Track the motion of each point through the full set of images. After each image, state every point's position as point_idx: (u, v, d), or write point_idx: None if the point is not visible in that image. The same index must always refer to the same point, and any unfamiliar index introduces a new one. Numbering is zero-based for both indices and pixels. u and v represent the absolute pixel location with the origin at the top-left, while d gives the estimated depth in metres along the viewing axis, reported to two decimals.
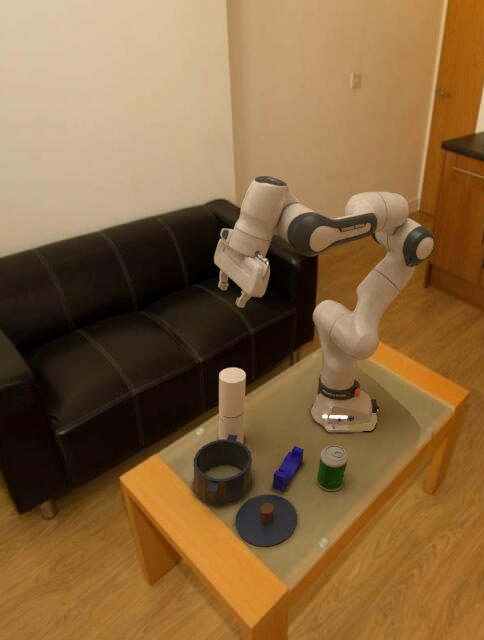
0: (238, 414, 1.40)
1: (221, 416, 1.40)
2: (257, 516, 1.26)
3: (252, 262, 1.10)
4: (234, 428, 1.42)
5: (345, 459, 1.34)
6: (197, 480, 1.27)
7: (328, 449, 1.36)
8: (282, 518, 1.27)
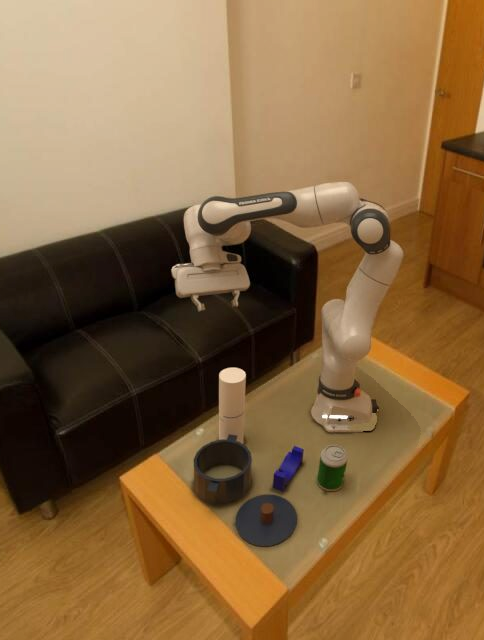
0: (238, 414, 1.40)
1: (221, 416, 1.40)
2: (257, 516, 1.26)
3: None
4: (234, 428, 1.42)
5: (345, 459, 1.34)
6: (197, 480, 1.27)
7: (328, 449, 1.36)
8: (282, 518, 1.27)
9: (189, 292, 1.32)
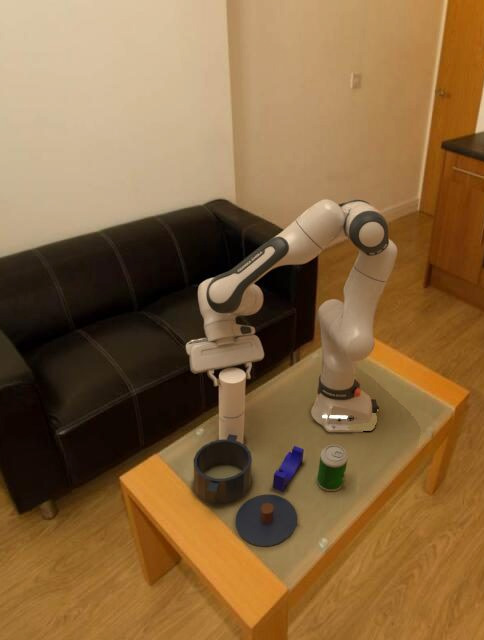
0: (238, 414, 1.40)
1: (221, 416, 1.40)
2: (257, 516, 1.26)
3: None
4: (234, 428, 1.42)
5: (345, 459, 1.34)
6: (197, 480, 1.27)
7: (328, 449, 1.36)
8: (282, 518, 1.27)
9: (203, 369, 1.33)
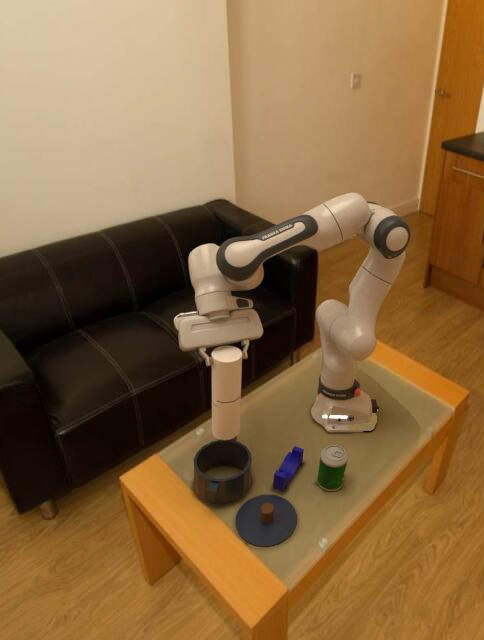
0: (233, 398, 1.24)
1: (214, 401, 1.24)
2: (257, 516, 1.26)
3: None
4: (229, 415, 1.26)
5: (345, 459, 1.34)
6: (197, 480, 1.27)
7: (328, 449, 1.36)
8: (282, 518, 1.27)
9: (193, 345, 1.16)
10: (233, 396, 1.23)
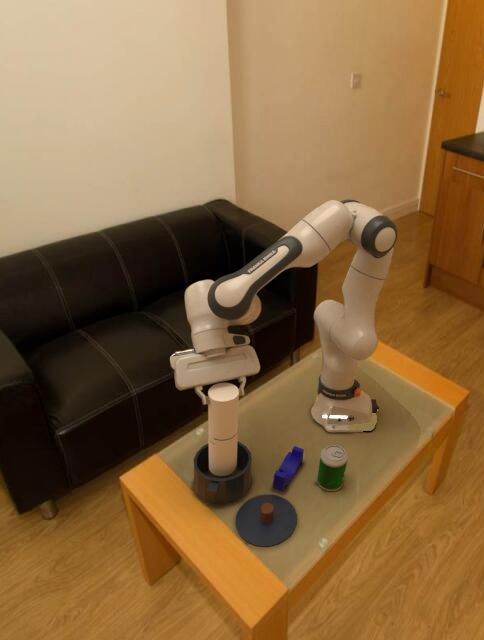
0: (230, 436, 1.23)
1: (211, 438, 1.23)
2: (257, 516, 1.26)
3: None
4: (226, 452, 1.25)
5: (345, 459, 1.34)
6: (197, 480, 1.27)
7: (328, 449, 1.36)
8: (282, 518, 1.27)
9: (190, 385, 1.15)
10: (230, 434, 1.22)
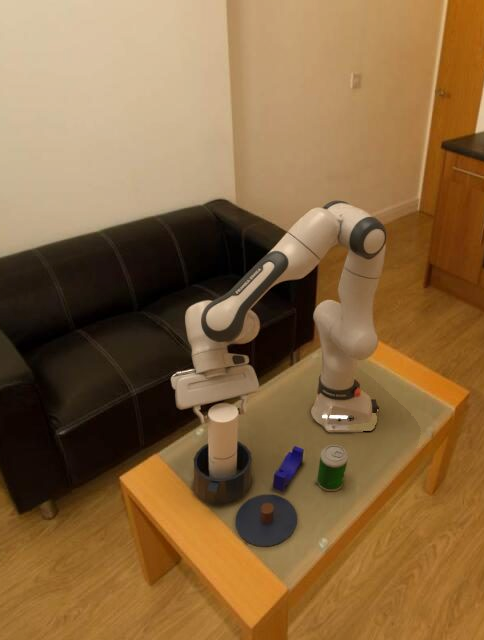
0: (230, 455, 1.26)
1: (211, 457, 1.26)
2: (257, 516, 1.26)
3: None
4: (226, 470, 1.28)
5: (345, 459, 1.34)
6: (197, 480, 1.27)
7: (328, 449, 1.36)
8: (282, 518, 1.27)
9: (190, 404, 1.18)
10: (229, 453, 1.26)
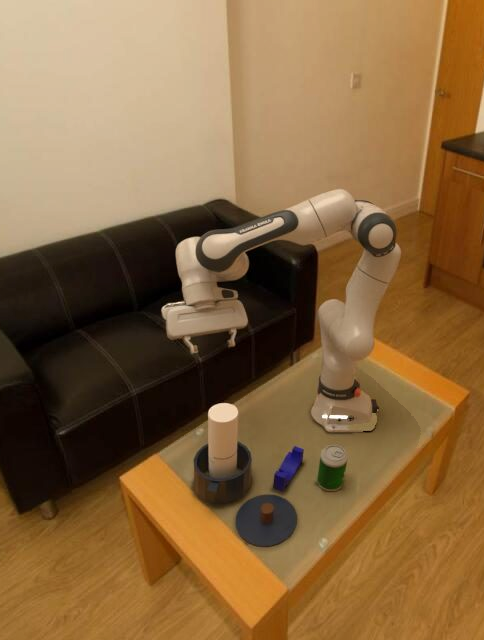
0: (230, 455, 1.26)
1: (211, 457, 1.26)
2: (257, 516, 1.26)
3: None
4: (226, 470, 1.28)
5: (345, 459, 1.34)
6: (197, 480, 1.27)
7: (328, 449, 1.36)
8: (282, 518, 1.27)
9: (180, 334, 1.22)
10: (229, 453, 1.26)
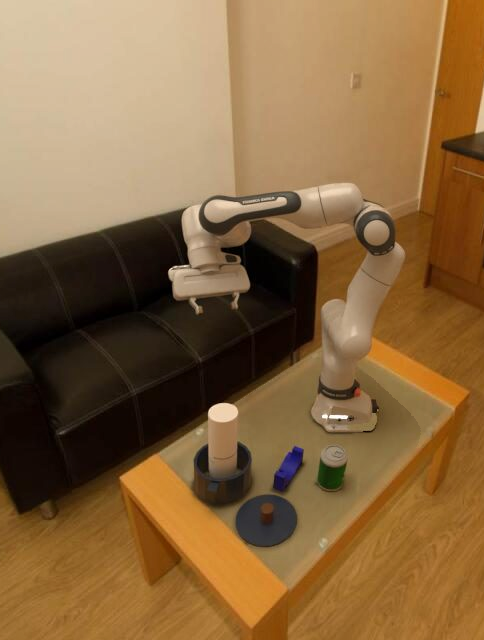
0: (230, 455, 1.26)
1: (211, 457, 1.26)
2: (257, 516, 1.26)
3: None
4: (226, 470, 1.28)
5: (345, 459, 1.34)
6: (197, 480, 1.27)
7: (328, 449, 1.36)
8: (282, 518, 1.27)
9: (186, 294, 1.28)
10: (229, 453, 1.26)
